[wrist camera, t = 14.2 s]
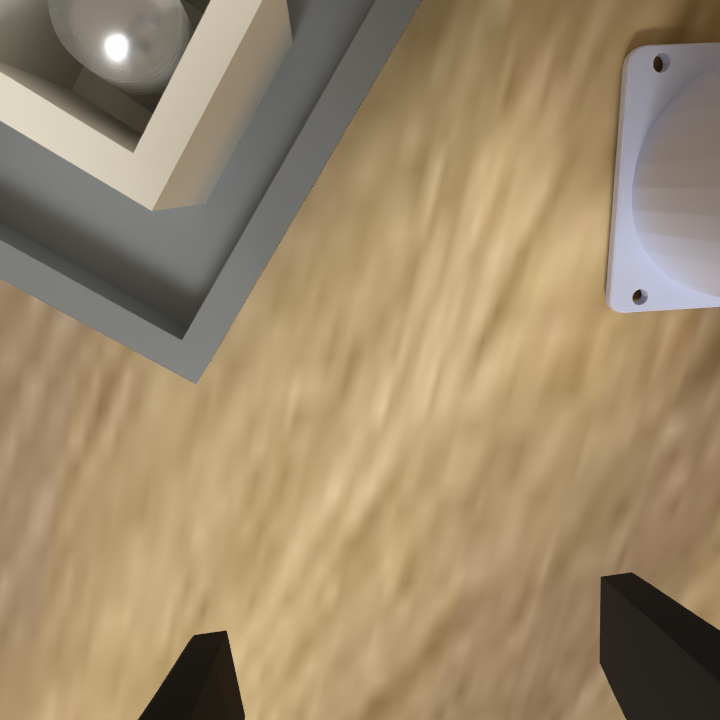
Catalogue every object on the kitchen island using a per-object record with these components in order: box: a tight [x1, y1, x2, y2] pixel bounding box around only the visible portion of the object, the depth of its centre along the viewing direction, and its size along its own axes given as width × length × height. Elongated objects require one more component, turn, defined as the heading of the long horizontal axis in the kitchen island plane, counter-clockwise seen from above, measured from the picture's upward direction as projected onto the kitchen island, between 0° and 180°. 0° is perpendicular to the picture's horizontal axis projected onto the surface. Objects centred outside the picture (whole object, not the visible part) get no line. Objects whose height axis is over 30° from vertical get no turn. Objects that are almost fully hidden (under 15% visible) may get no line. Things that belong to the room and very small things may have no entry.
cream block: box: [0, 0, 293, 211], centre depth 14 cm, size 5×5×6 cm
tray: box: [0, 0, 422, 384], centre depth 16 cm, size 14×10×2 cm
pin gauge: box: [48, 0, 195, 113], centre depth 14 cm, size 2×2×5 cm
